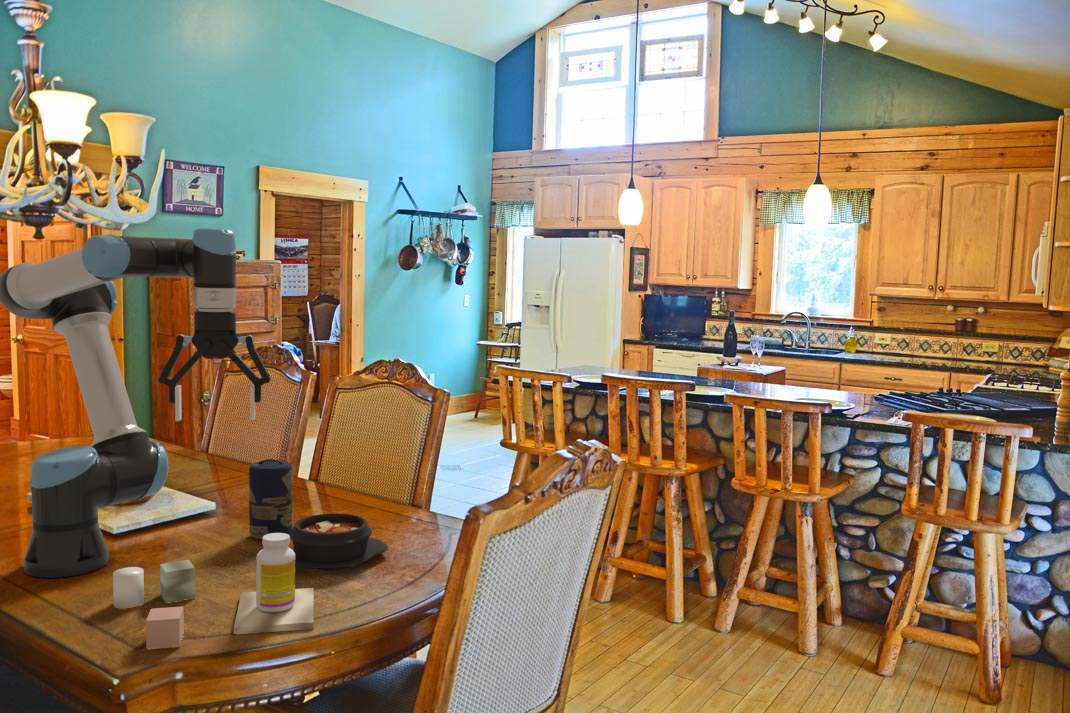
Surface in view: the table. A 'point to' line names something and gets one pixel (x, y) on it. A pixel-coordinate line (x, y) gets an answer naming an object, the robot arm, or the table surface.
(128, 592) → the white domed cylinder
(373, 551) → the casserole
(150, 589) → the table surface
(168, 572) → the sage block
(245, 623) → the birch board
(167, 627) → the terracotta block
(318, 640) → the table surface
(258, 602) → the supplement bottle
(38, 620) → the table surface
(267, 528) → the canister
